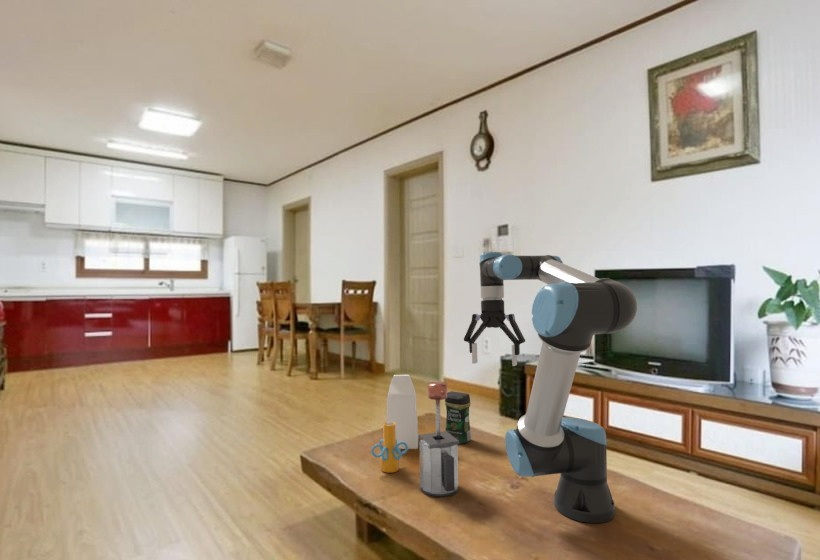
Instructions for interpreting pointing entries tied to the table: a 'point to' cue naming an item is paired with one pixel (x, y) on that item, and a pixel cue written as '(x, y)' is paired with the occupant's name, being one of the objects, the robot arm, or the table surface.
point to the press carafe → (438, 465)
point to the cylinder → (389, 449)
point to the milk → (403, 410)
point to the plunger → (437, 401)
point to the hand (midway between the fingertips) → (494, 364)
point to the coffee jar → (458, 416)
